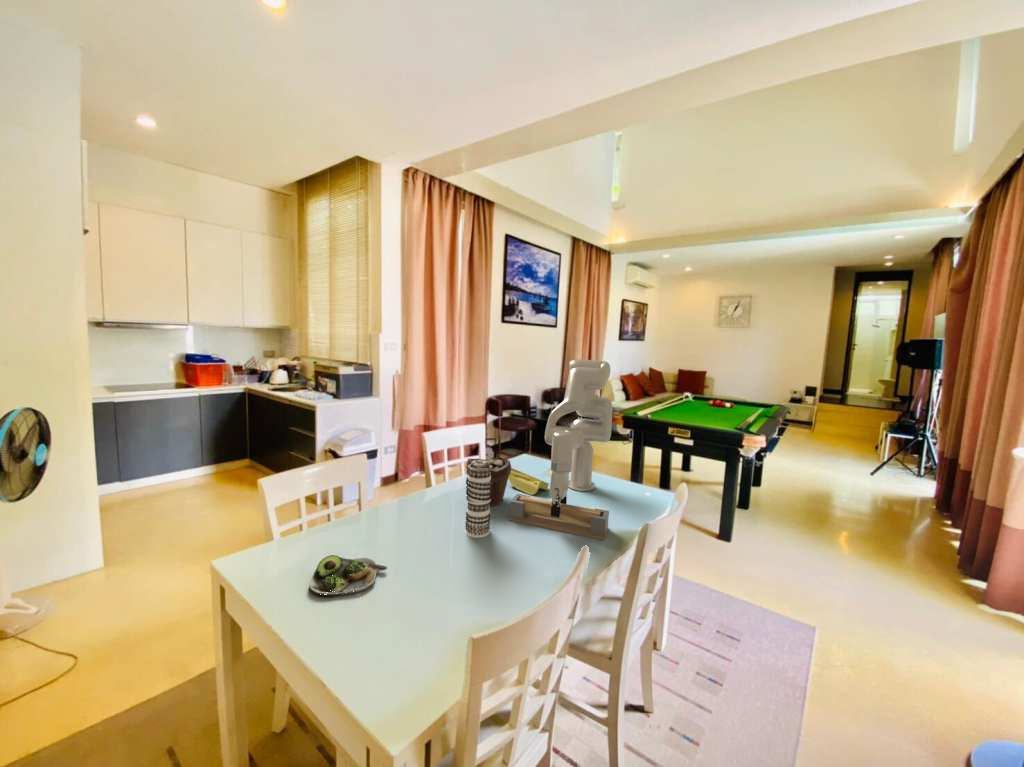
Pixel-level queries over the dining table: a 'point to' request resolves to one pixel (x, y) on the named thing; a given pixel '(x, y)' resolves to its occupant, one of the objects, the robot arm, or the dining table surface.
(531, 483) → the plastic component
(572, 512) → the slat
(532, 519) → the end cap frame
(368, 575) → the salad plate
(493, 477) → the brown pot
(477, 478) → the tower model
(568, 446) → the robot arm
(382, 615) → the dining table surface
